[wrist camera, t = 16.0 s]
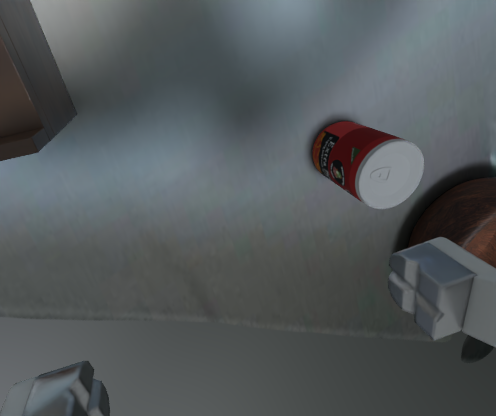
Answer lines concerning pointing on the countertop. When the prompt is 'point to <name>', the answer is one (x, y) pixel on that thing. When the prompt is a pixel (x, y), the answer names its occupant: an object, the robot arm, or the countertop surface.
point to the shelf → (28, 84)
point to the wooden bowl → (463, 219)
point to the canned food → (369, 163)
